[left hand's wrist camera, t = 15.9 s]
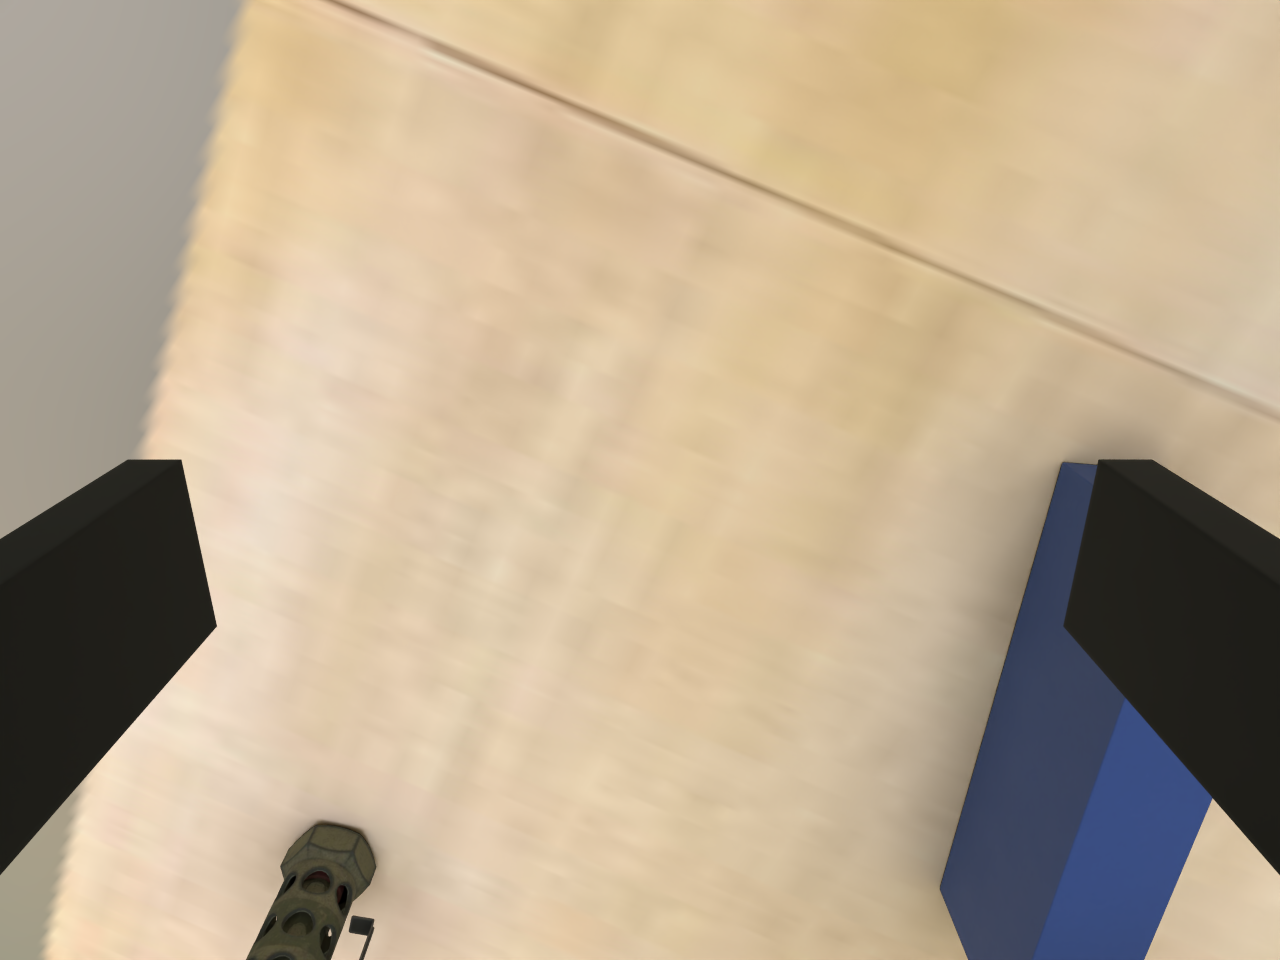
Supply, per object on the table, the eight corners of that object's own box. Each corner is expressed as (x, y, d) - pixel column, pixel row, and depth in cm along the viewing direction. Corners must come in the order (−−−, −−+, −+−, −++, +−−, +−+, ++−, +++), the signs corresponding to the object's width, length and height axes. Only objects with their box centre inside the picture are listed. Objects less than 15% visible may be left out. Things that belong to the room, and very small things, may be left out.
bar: (1062, 461, 40) (1178, 549, 32) (1169, 470, 41) (1314, 560, 32) (939, 889, 50) (1001, 1045, 42) (1025, 894, 51) (1106, 1051, 42)
